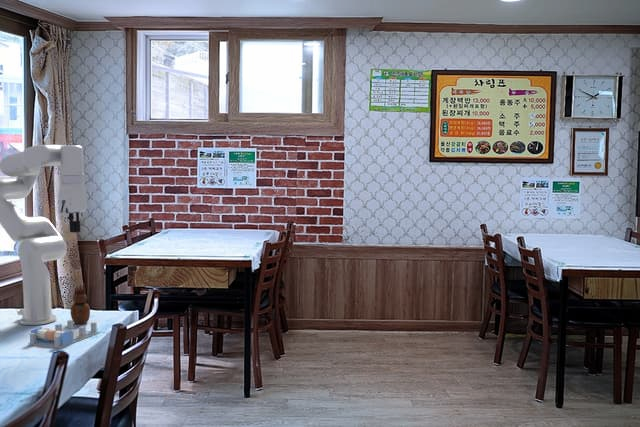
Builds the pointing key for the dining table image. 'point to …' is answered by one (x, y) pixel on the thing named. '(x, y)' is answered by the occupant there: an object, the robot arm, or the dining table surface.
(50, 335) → the white rounded bar
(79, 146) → the robot arm
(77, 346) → the dining table surface
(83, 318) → the wooden figurine
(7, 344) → the dining table surface
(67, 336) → the blue and grey tray
